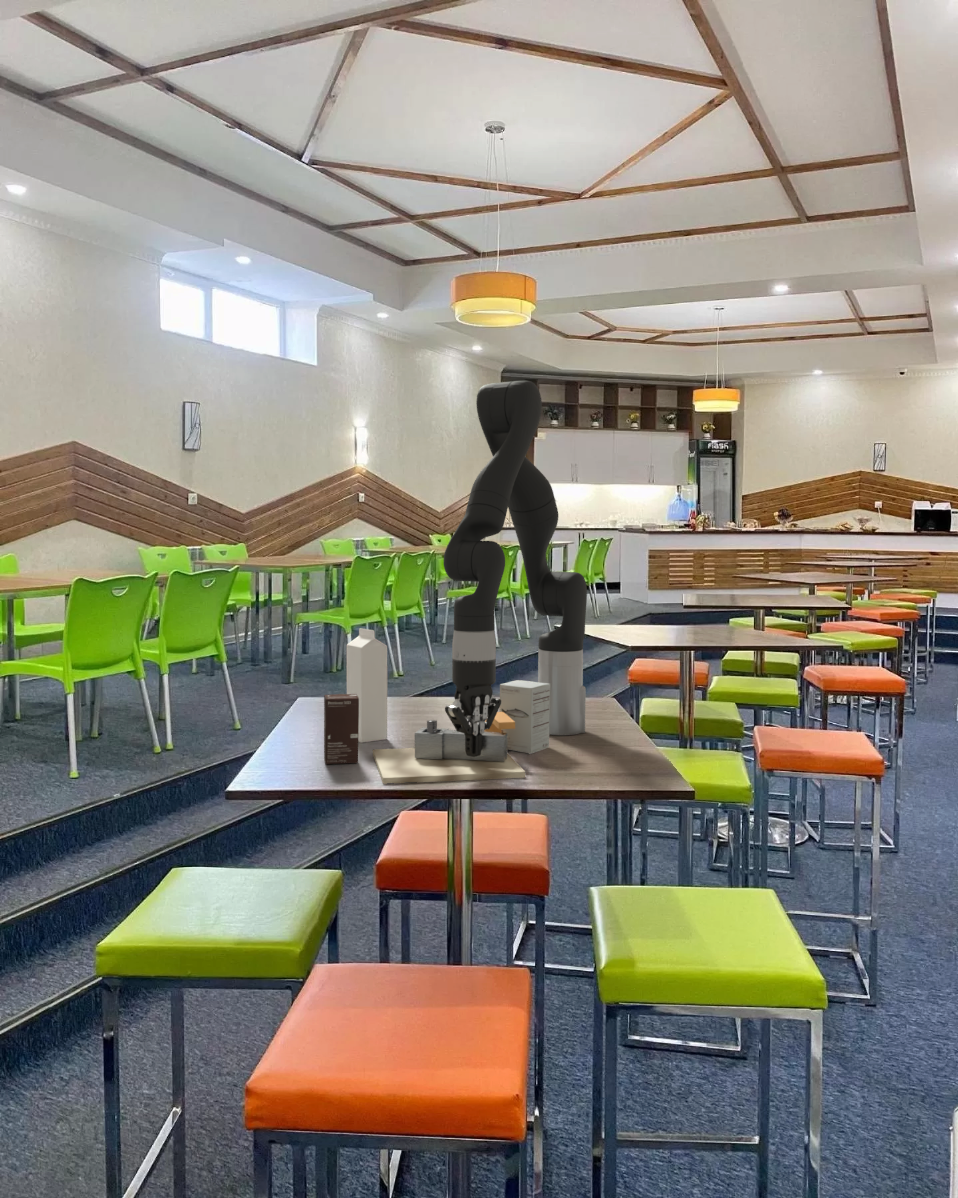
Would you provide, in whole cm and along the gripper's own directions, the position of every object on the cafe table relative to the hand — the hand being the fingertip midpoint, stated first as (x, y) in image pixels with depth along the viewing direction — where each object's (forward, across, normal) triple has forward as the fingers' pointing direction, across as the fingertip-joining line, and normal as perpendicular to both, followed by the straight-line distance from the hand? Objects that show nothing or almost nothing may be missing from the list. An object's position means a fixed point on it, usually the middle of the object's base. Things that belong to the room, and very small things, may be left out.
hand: (473, 755), depth 166 cm
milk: (+2, +6, +33) cm, 33 cm away
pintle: (+2, 0, +9) cm, 10 cm away
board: (+2, -1, +6) cm, 6 cm away
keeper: (+2, +10, +3) cm, 10 cm away
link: (+1, +2, +5) cm, 5 cm away
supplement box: (+3, +19, +4) cm, 20 cm away
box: (+3, -11, +22) cm, 25 cm away
